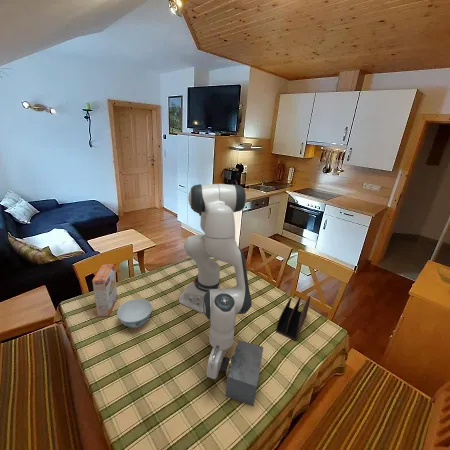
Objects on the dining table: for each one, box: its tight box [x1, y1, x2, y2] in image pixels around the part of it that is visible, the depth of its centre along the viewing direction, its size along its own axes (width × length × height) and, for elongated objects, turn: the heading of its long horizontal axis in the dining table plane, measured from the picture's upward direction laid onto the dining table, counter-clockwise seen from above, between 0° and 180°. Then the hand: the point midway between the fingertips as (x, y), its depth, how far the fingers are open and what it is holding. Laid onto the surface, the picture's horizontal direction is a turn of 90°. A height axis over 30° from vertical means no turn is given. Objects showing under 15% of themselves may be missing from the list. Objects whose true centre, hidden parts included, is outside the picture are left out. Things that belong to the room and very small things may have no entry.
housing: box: [225, 339, 264, 407], centre depth 87 cm, size 10×16×10 cm, turn 164°
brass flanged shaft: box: [219, 354, 234, 377], centre depth 88 cm, size 15×7×7 cm, turn 74°
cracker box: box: [91, 263, 118, 318], centre depth 115 cm, size 14×6×21 cm, turn 8°
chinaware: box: [116, 298, 153, 329], centre depth 109 cm, size 15×15×8 cm
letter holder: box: [275, 295, 311, 342], centre depth 115 cm, size 10×20×14 cm, turn 149°
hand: (218, 363), depth 89 cm, fingers closed on brass flanged shaft, 3 cm apart
